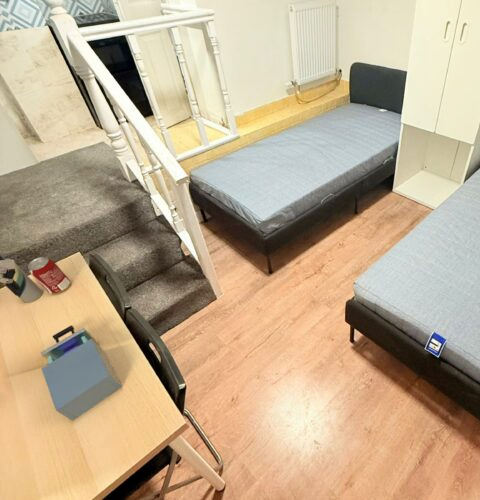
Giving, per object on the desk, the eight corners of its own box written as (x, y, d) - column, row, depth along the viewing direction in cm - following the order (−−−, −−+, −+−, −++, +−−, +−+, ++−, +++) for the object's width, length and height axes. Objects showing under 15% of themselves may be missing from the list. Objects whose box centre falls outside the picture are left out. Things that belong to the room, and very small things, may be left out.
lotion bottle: (21, 295, 110) (-25, 253, 96) (41, 286, 113) (-1, 243, 99) (24, 306, 107) (-23, 263, 93) (44, 296, 110) (1, 254, 96)
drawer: (50, 349, 95) (35, 336, 90) (89, 327, 100) (77, 313, 95) (69, 398, 85) (52, 387, 80) (111, 370, 90) (98, 358, 85)
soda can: (76, 283, 113) (55, 258, 105) (57, 297, 109) (34, 273, 101) (62, 277, 116) (41, 252, 107) (44, 291, 111) (20, 267, 103)
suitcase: (61, 383, 89) (41, 368, 82) (107, 354, 94) (91, 338, 88) (77, 423, 81) (55, 410, 75) (125, 390, 87) (109, 375, 80)
